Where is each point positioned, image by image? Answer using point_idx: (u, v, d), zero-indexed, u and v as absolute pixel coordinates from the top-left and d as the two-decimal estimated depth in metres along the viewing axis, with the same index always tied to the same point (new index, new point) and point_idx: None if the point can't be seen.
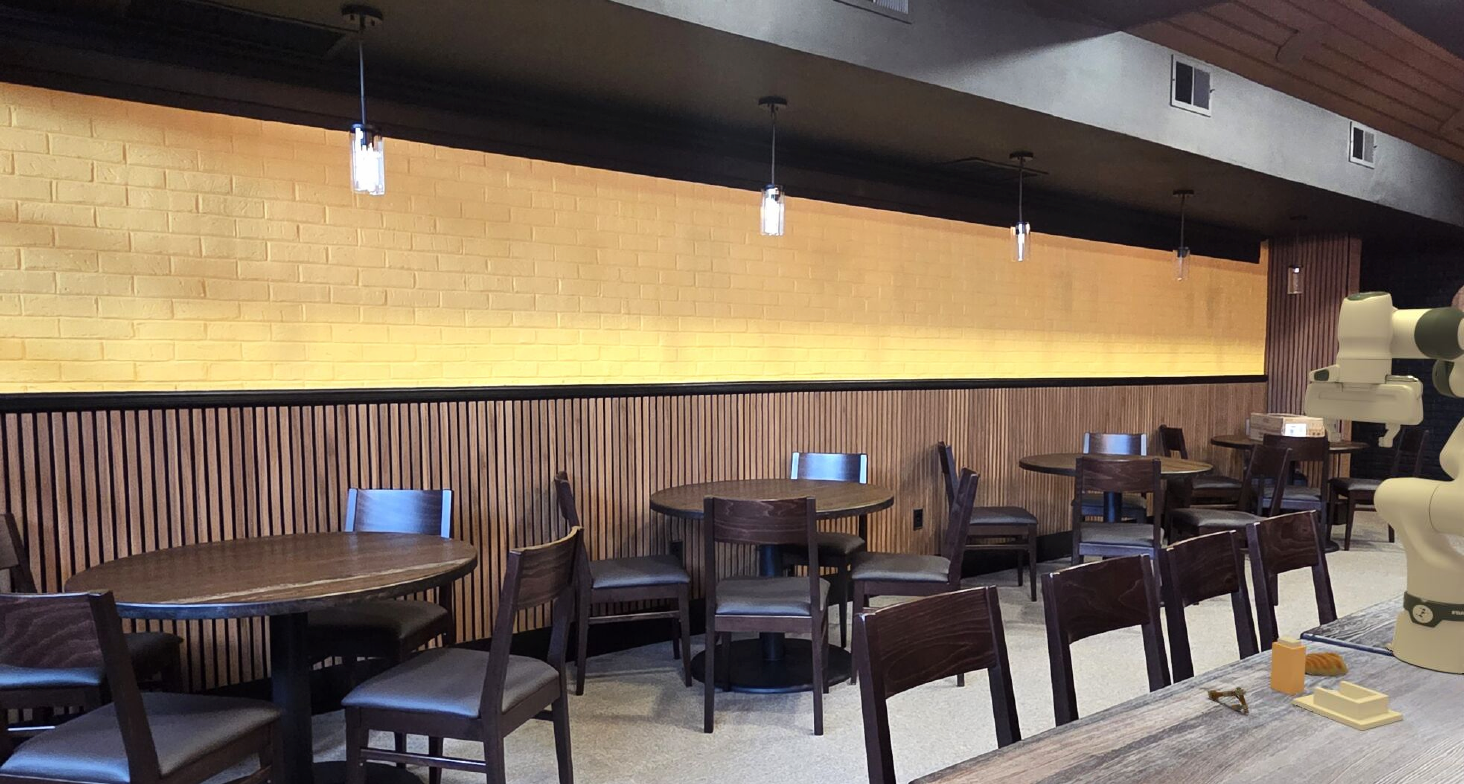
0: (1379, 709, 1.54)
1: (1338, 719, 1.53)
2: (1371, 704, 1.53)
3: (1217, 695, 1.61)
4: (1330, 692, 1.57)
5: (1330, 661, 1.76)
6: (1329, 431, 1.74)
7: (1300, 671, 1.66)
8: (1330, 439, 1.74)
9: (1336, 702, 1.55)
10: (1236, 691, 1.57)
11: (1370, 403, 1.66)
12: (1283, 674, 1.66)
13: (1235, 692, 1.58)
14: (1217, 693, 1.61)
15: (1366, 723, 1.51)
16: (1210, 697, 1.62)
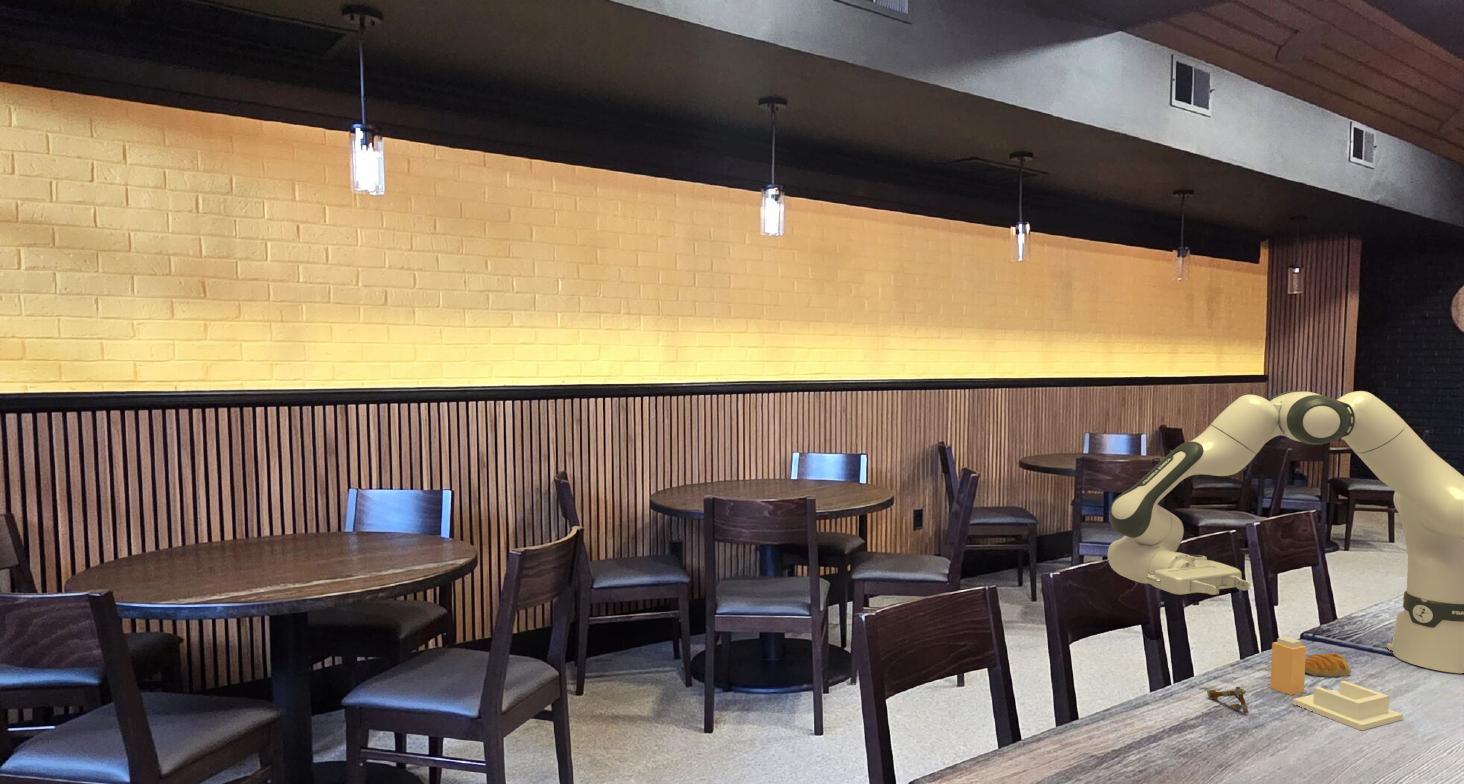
0: (1379, 709, 1.54)
1: (1338, 719, 1.53)
2: (1371, 704, 1.53)
3: (1216, 695, 1.62)
4: (1330, 692, 1.57)
5: (1333, 662, 1.75)
6: None
7: (1300, 671, 1.66)
8: (1246, 589, 1.81)
9: (1336, 702, 1.55)
10: (1235, 691, 1.57)
11: None
12: (1283, 674, 1.66)
13: (1234, 691, 1.58)
14: (1216, 693, 1.62)
15: (1366, 723, 1.51)
16: (1209, 697, 1.63)
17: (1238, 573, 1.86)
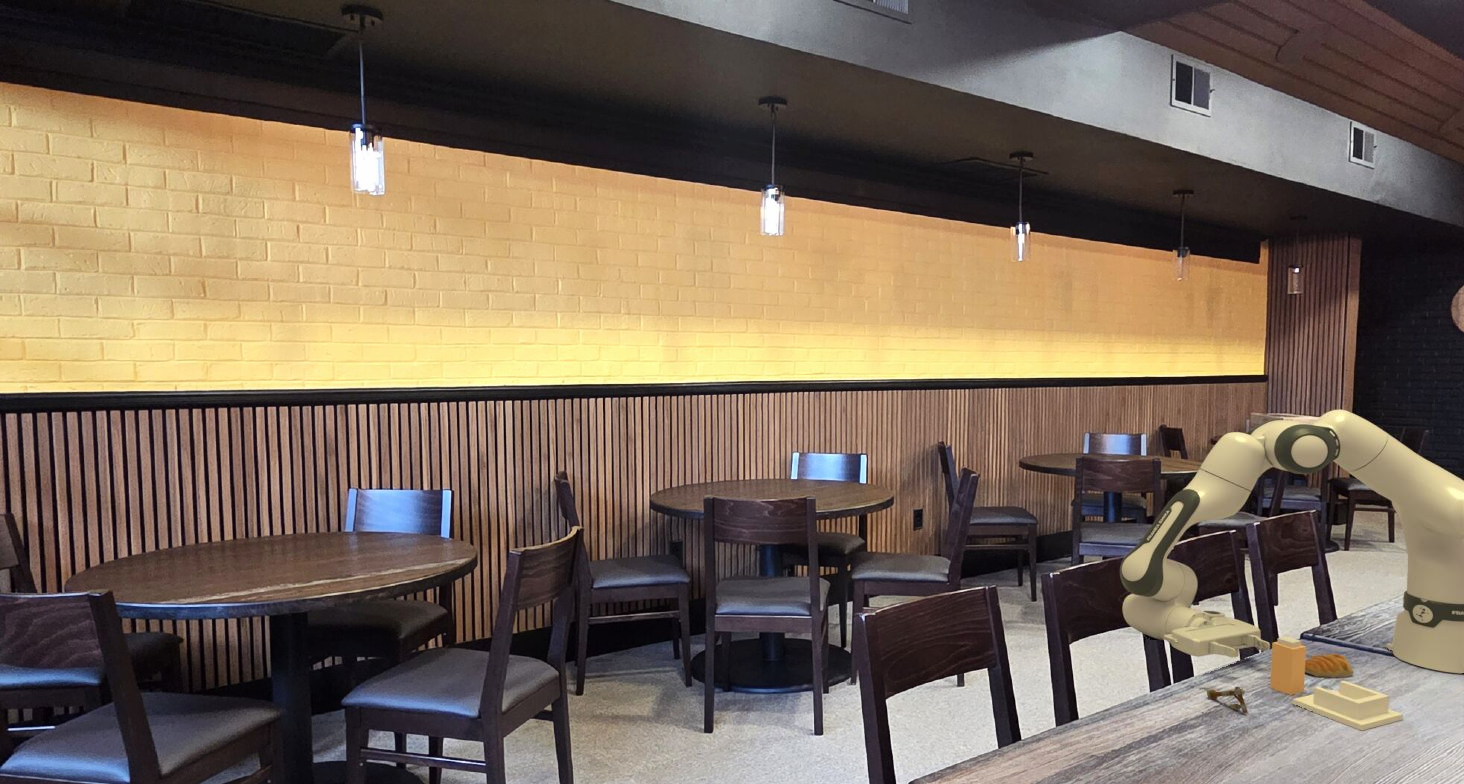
0: (1379, 709, 1.54)
1: (1338, 719, 1.53)
2: (1371, 704, 1.53)
3: (1216, 695, 1.62)
4: (1330, 692, 1.57)
5: (1336, 663, 1.75)
6: None
7: (1300, 671, 1.66)
8: (1266, 650, 1.77)
9: (1336, 702, 1.55)
10: (1235, 691, 1.58)
11: None
12: (1283, 674, 1.66)
13: (1233, 691, 1.58)
14: (1216, 693, 1.62)
15: (1366, 723, 1.51)
16: (1209, 696, 1.63)
17: (1257, 632, 1.82)
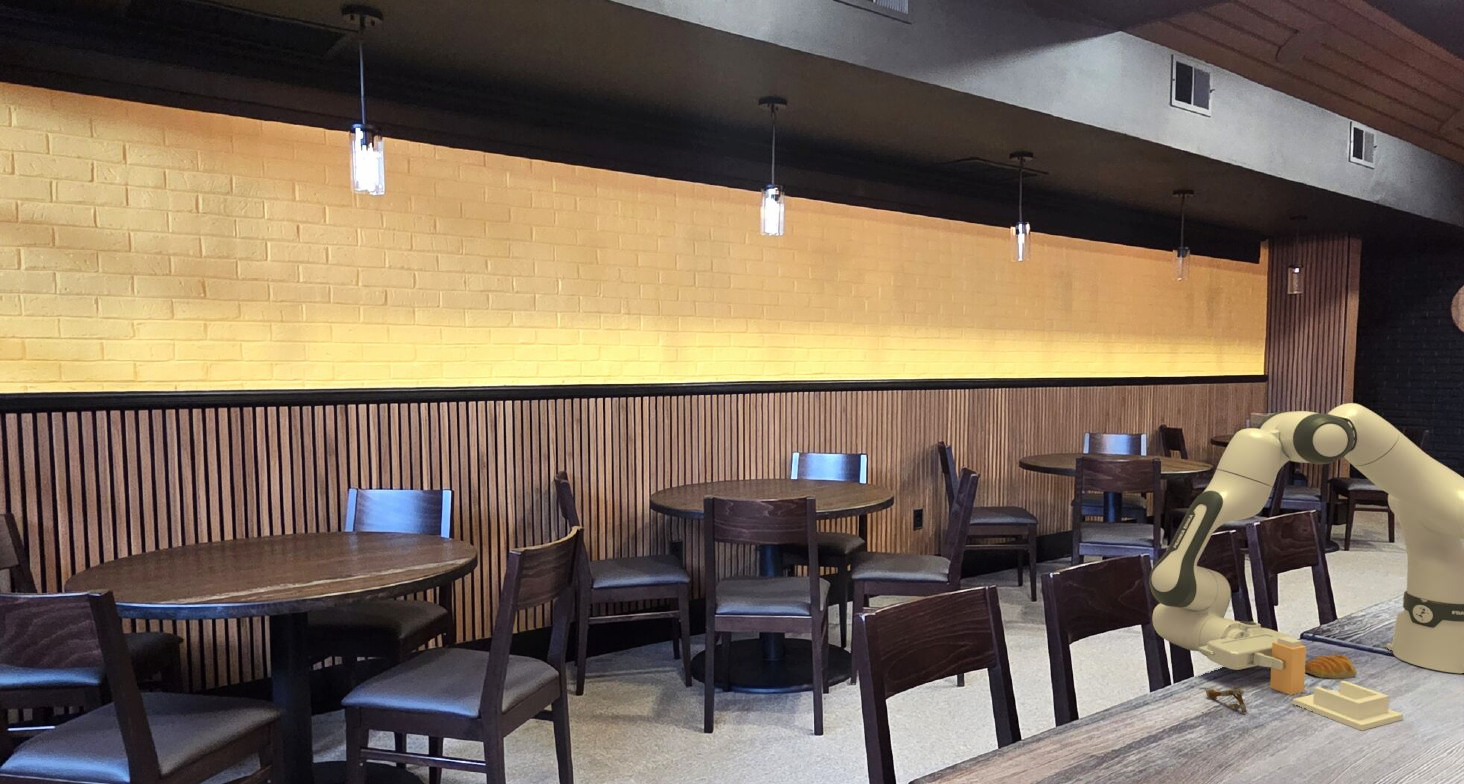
0: (1379, 709, 1.54)
1: (1338, 719, 1.53)
2: (1371, 704, 1.53)
3: (1215, 694, 1.62)
4: (1330, 692, 1.57)
5: (1340, 664, 1.75)
6: None
7: (1300, 671, 1.66)
8: None
9: (1336, 702, 1.55)
10: (1234, 690, 1.58)
11: None
12: (1283, 674, 1.66)
13: (1232, 691, 1.58)
14: (1215, 692, 1.62)
15: (1366, 723, 1.51)
16: (1208, 696, 1.63)
17: None
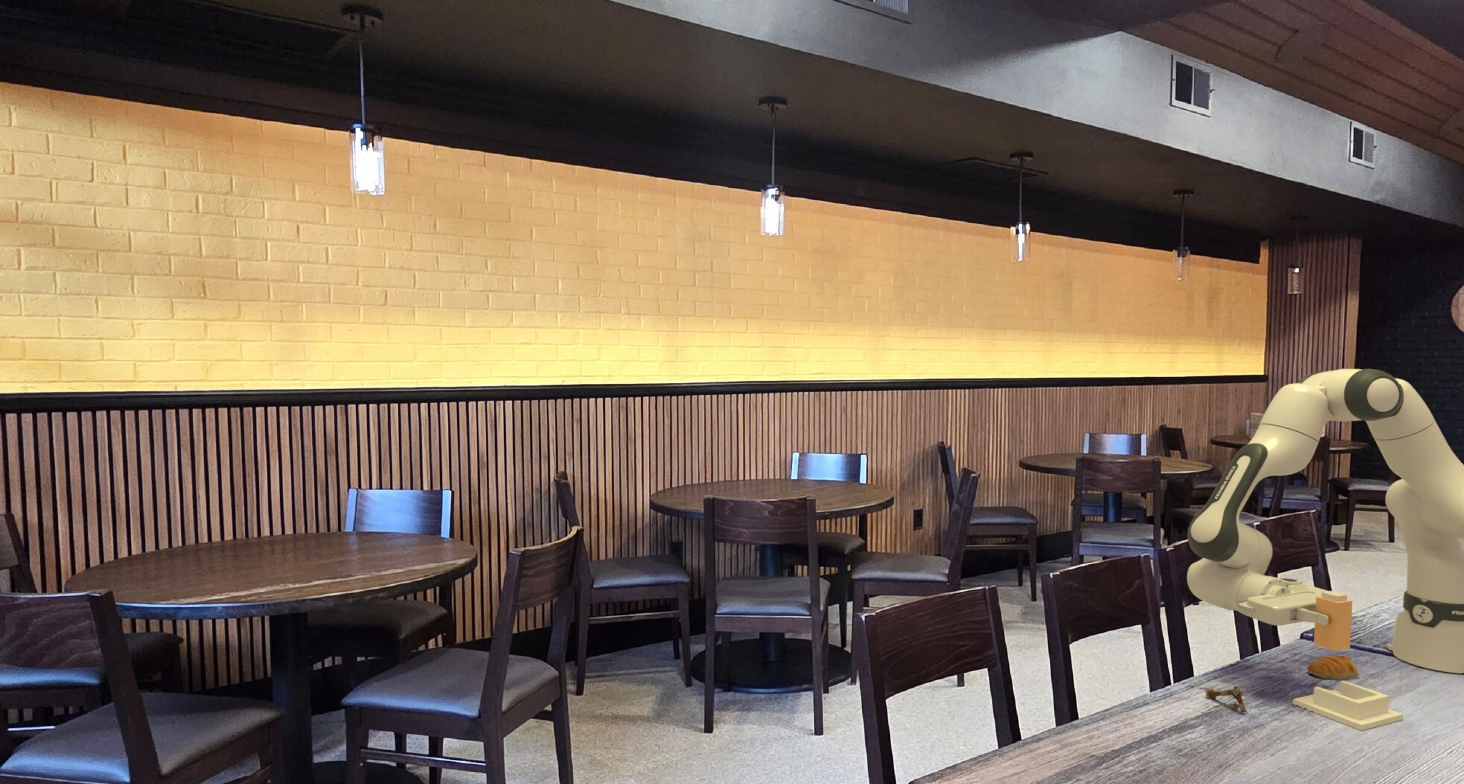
0: (1379, 709, 1.54)
1: (1338, 719, 1.53)
2: (1371, 704, 1.53)
3: (1215, 694, 1.62)
4: (1330, 692, 1.57)
5: (1343, 664, 1.74)
6: None
7: (1346, 626, 1.58)
8: None
9: (1336, 702, 1.55)
10: (1233, 690, 1.58)
11: None
12: (1328, 629, 1.59)
13: (1232, 691, 1.58)
14: (1215, 692, 1.62)
15: (1366, 723, 1.51)
16: (1208, 696, 1.63)
17: None
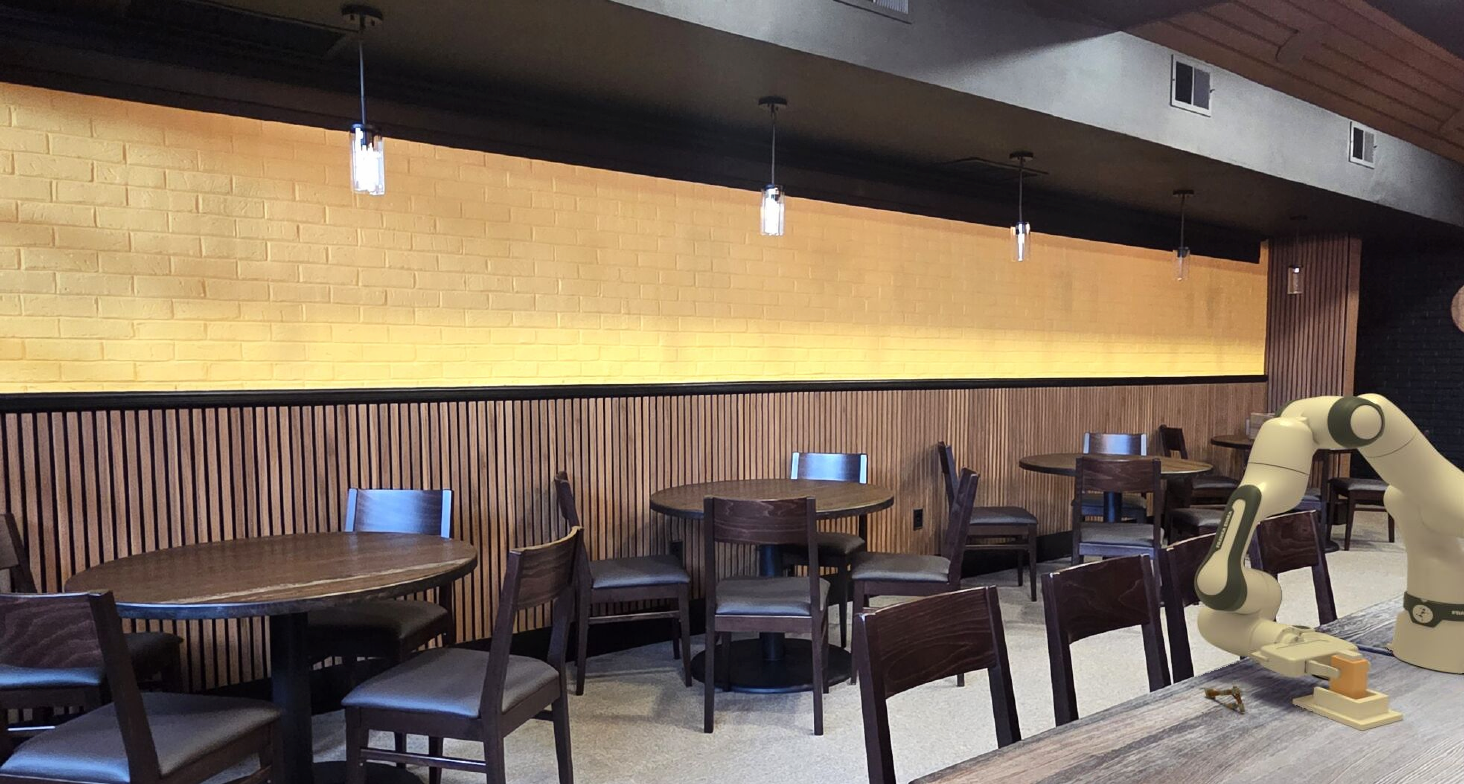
0: (1379, 709, 1.54)
1: (1338, 719, 1.53)
2: (1371, 704, 1.53)
3: (1214, 694, 1.62)
4: (1330, 692, 1.57)
5: None
6: None
7: (1361, 686, 1.56)
8: None
9: (1336, 702, 1.55)
10: (1232, 690, 1.58)
11: None
12: (1343, 689, 1.56)
13: (1231, 691, 1.58)
14: (1214, 692, 1.62)
15: (1366, 723, 1.51)
16: (1207, 696, 1.63)
17: (1355, 649, 1.64)
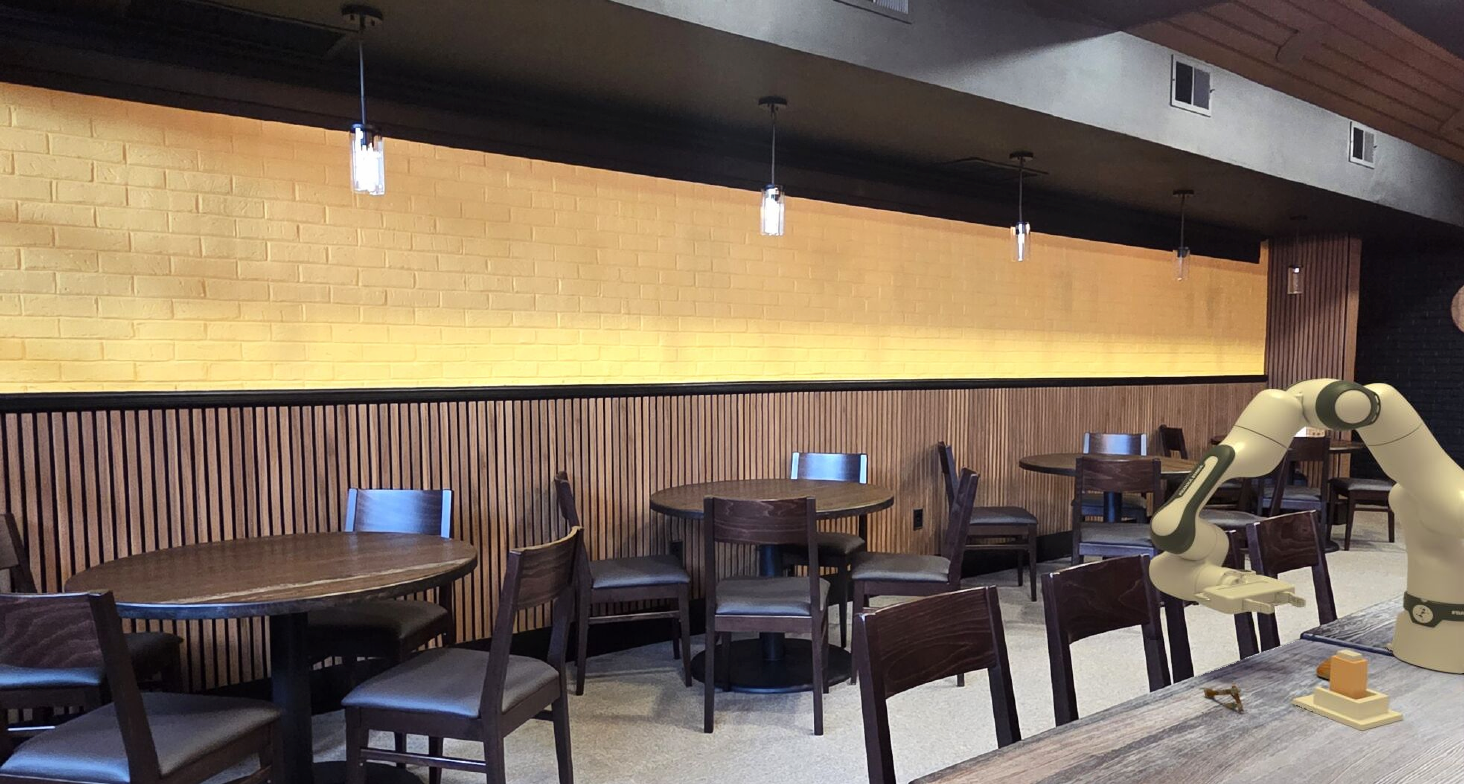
0: (1379, 709, 1.54)
1: (1338, 719, 1.53)
2: (1371, 704, 1.53)
3: (1213, 693, 1.62)
4: (1330, 692, 1.57)
5: None
6: None
7: (1361, 686, 1.56)
8: (1301, 606, 1.70)
9: (1336, 702, 1.55)
10: (1231, 689, 1.58)
11: None
12: (1343, 689, 1.56)
13: (1230, 690, 1.58)
14: (1213, 691, 1.62)
15: (1366, 723, 1.51)
16: (1206, 695, 1.63)
17: (1291, 588, 1.76)
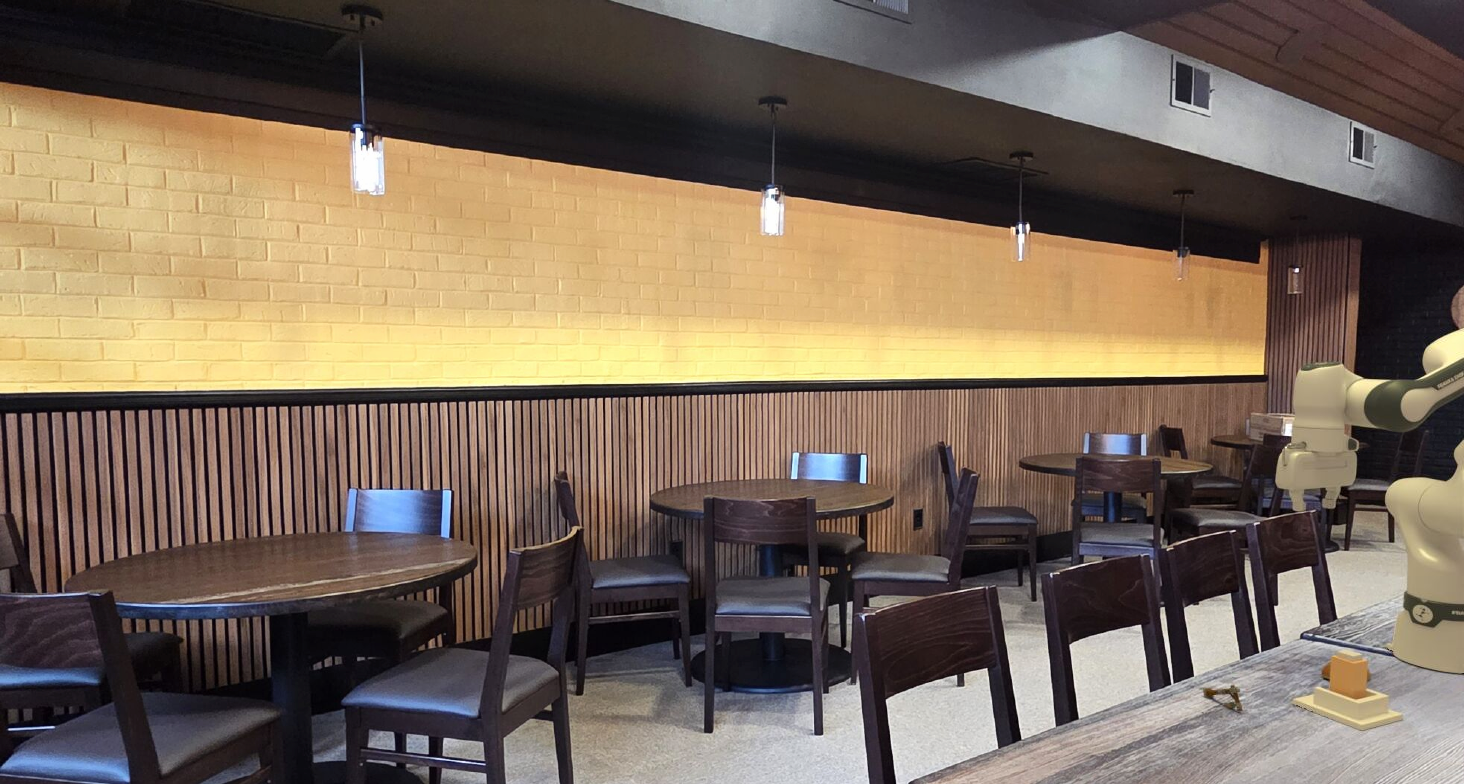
0: (1379, 709, 1.54)
1: (1338, 719, 1.53)
2: (1371, 704, 1.53)
3: (1212, 693, 1.62)
4: (1330, 692, 1.57)
5: None
6: None
7: (1361, 686, 1.56)
8: None
9: (1336, 702, 1.55)
10: (1230, 689, 1.58)
11: None
12: (1343, 689, 1.56)
13: (1229, 690, 1.59)
14: (1212, 691, 1.62)
15: (1366, 723, 1.51)
16: (1205, 695, 1.63)
17: None
